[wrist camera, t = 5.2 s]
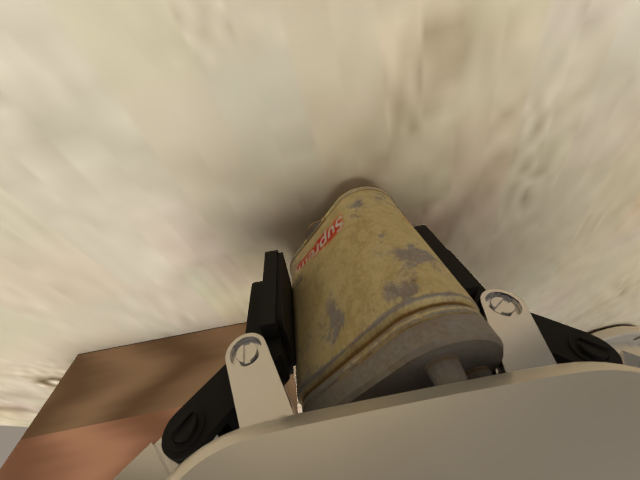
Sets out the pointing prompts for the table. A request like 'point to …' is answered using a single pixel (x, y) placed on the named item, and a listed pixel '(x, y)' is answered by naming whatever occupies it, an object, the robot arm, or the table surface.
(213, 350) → the salmon square box
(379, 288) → the lighter
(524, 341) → the robot arm
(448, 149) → the table surface
